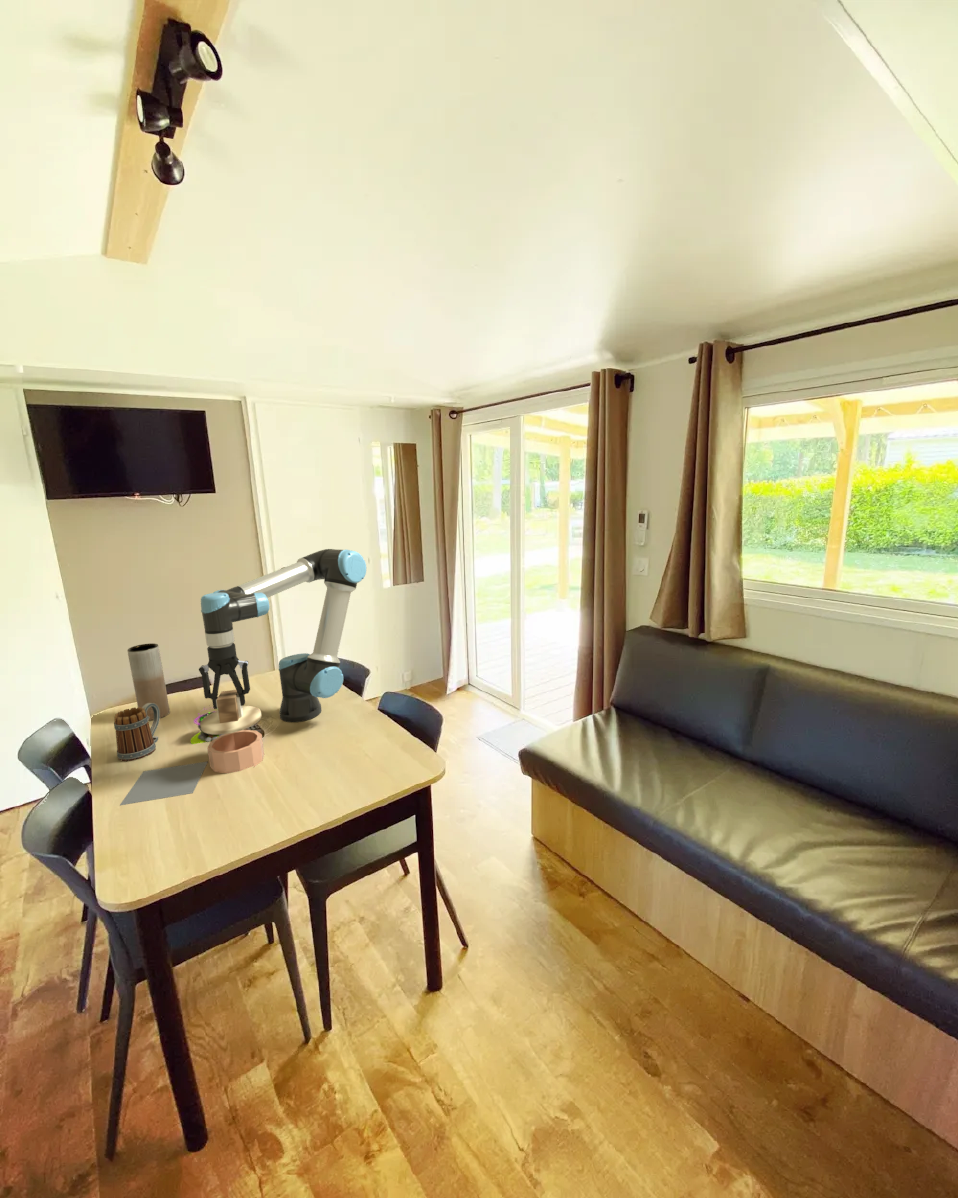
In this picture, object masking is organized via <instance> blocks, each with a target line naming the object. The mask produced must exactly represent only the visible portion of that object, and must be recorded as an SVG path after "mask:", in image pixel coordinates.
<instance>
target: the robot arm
mask: <svg viewBox="0 0 958 1198" xmlns="http://www.w3.org/2000/svg"><path fill="white" fill-rule="evenodd" d="M366 575H367V563H366V560H365V559H364V557H363V555H362V554H360V552H358V551H355V550H350V549H334V548H326V549H321V550H318V551H316V552H313V553H309V554H308V555H305V556H303V557H300V558H299V559H297V560H296V562H295V563H292V564H289V565H287V566H285V567H283V568H279V569H277V570H275V571H271V572H270V573H267V574H264V575H263V576H260V577H257V578H255V579H252V580H249V581H248V582H245V583H242V584H240V585H239V584H238V585H236V586H234V587H231V588H228V589H219V590H215V591H214V592H211V593H207V594H204V595H202V596H201V598H200V607H201V610H200V613H202V621H203V626H204V634H205V642H206V646H207V648H206V650H207V655H208V663H207V664H204V665H201V666H200V667H199V668H198V672H199V674H200V676H201V679H202V680H201V681H202V686H203V687H202V688H203V694H204V699H210V700H211V701H212V702H211V703H212V709H214V710H216V711H218V707H217V698H218V697H219V688H220V682H221V677H222V676H223V675H224V676H225V675H229V678H230V679H231V681H232V683H233V686H234V688H235V690H237V693H238V695H237V697H236V698H237V705H238V713H239V717H242V715H243V708H242V706H245V704H246V698H245V695H246V694H249V693H250V691H251V686H250V677H249V671H248V665H249V661H248V660H239V658H238V656H237V649H236V648H237V647H236V643H234V642H235V635H234V626H233V623H235V622H240V621H244V620H251V619H254V618H259V617H263V616H265V615H267V614H268V613H269V611H270V607H271V606H270V601H269V598H270V597H272V596H275V595H277V594H279V593H282V592H284V591H286V590H287V591H288V590H289V589H291V588H293V587H296V586H298V585H301V584H302V583H309V584H310V583H313V582H314V581H318V580H319V581H320V580H323V584H324V585H325V587H326V591H325V596H324V601H323V606H322V610H321V615H320V619H319V624H318V629H317V633H316V636H315V642H314V646H313V651H312V653H307V652H306V653H296V654H292V655H289V656H288V655H287V656H285V657H283V658H281V659H280V660H279V662H278V671H279V680H280V687H281V694H282V696H281V697H282V698H281V703H280V708H279V711H278V712H279V718H280V720H281V721H283V722H287V723H299V722H304V721H308V720H312V719H314V718H316V717H317V716H320V714H321V713H322V704H321V702H320V700H319V698H321V699H328V698H331V697H333V696H334V695H335V694H337V693H338V692H339V691H340V689H341V688H342V686H343V683H344V674H343V672H342V669H340V665H341V660H340V659H339V658H338V655H339V649H340V645H341V640H342V636H343V632H344V626H345V621H346V616H347V612H348V607H349V602H350V598H351V594H352V593H353V592H355V590H357V585H358V583H360V582H362V580H364V579H365V577H366ZM237 666H239V668H240V669H241V676H242V683H243V686H242V684H241V681H240V679H239V677H238V675H237V670H236V668H237ZM209 669H210V670H211V671H213V672H214V677H213V678H214V679H213V686H212V692H211V685H210V677H209V671H210V670H209ZM218 718H219V713H218Z"/></svg>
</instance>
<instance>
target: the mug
mask: <svg viewBox="0 0 958 1198" xmlns="http://www.w3.org/2000/svg"><path fill="white" fill-rule="evenodd" d="M149 707H152V709H153V712H154V720H152V724H151V726H150V724H149V721H148V720H149V717H148V716H147V710H148V708H149ZM160 719H161V718H160V712H159V708H158V706H157V705H156V704H154V703H147V704H145V705H144V706H143V707H142V708H141V707H138V706H137V708H136V707H131V708H130V709H129V708H126V709H124V710H121V711H118V713H115V714H114V722H113V724H114V726H113V727H114V728H113V729H114V730H115V739H116V749H117V750H116V756H117V758H118V761H121V762H134V761H137V760H141V759H144V758H146V757H148V756H150V755H152V754H153V753H155V751H156V749H157V748H156V745H157V744H156V743H157V742H158V740H159V736H158V735H157V736H156V735H155V732H156V731H157V728H158V726H159V724H160V723H159V722H160Z"/></svg>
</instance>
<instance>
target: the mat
mask: <svg viewBox="0 0 958 1198" xmlns="http://www.w3.org/2000/svg"><path fill="white" fill-rule="evenodd" d="M208 763H209V760H208V761H202V762H196V763H190V764H189V763H188V764H182V765H175V766H169V767H162V768H157V769H149V770H143V771H142V773H141V774H140V776H139V777H138V778H137V780H136V781H135V782H134V784H133V785H132V787H131V788H130V789H129V791H128V792H127V794H126V795H125V797H124V799H123V800H122V801H121V802H120V804H119V806H126V805H130V804H137V803H142V802H148V801H156V800H161V799H167V798H172V797H178V796H179V797H180V796H186V795H191V794H193V793H194V791H195V790H196V787H197V785H198V783H199V781H200V779H201V777H202V775H203V773H204V771H205V769H206V767H207V764H208Z"/></svg>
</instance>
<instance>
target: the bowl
mask: <svg viewBox="0 0 958 1198" xmlns="http://www.w3.org/2000/svg"><path fill="white" fill-rule="evenodd" d="M207 754H208V763H209V767H210V769H211V770H212V771H213V772H215V773H220V774H229V773H230V774H231V773H236V772H241V771H244V770H246V769H248V768H251V767H253V768H255V767H257V765H259V764H260V763H262V762H263V761H264V757H265V748H264V743H263V734H262V733H261V732H259V731H257V730H252V729H244V730H241V731H237V732H233V733H228V734H224V735H221V736H219V737H217V738H216V739H214V740H213V741H211V742H209V744H208V746H207Z"/></svg>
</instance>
